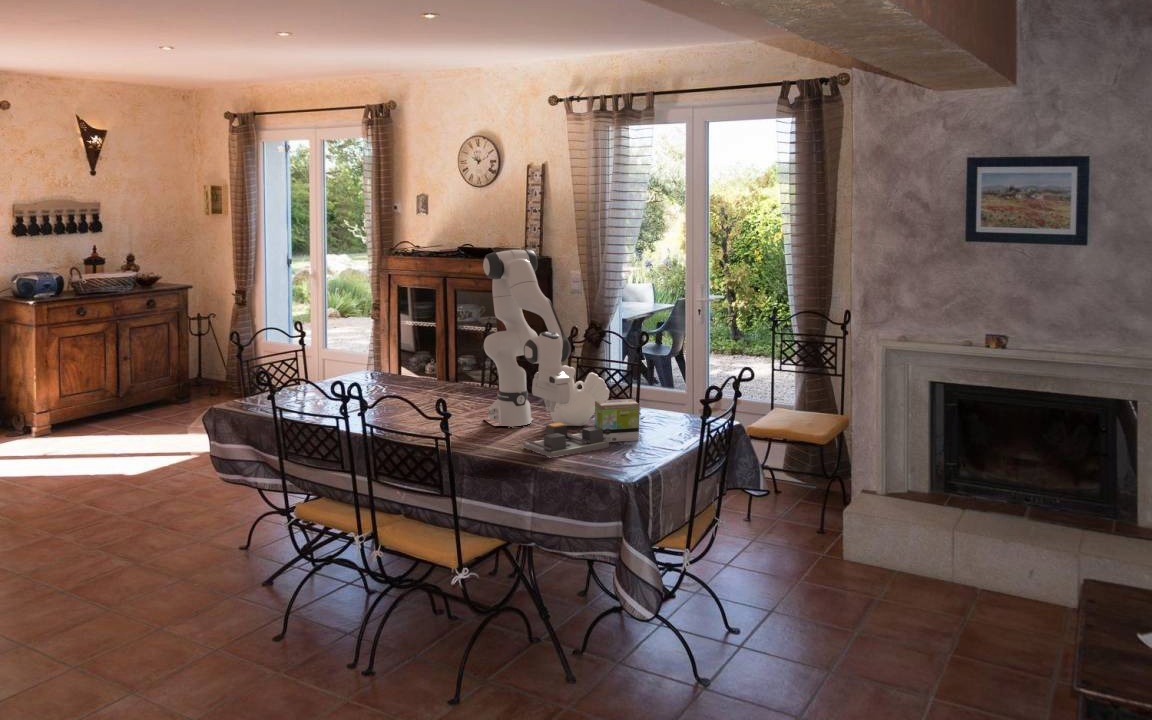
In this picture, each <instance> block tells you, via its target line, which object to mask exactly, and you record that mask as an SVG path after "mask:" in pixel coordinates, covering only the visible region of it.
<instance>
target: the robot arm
mask: <svg viewBox="0 0 1152 720" xmlns="http://www.w3.org/2000/svg"><path fill="white" fill-rule="evenodd" d="M538 265H539V261H538V257H537V254H536V253H535V251H534V250H531V249H526V248H523V249H509V250H503V251H497V252H491V253H488V254H486V255H485V256H484V258H483V263H482V266H483V272H484V274H485V276H486V277H487V278H488V279H491V280H492V287H491V288H492V291H491V292H492V300H493V301H492V302H493V309H494V315H495V318H496V319H497V320H499V321H500V322H502V323H503V325H504V326H505V329H506V330H502V331H501V330H500V331H496V332H494V333H491V334H488V335H487V336H486V337H485V338H484V342H483V350H484V352H485V354H486V356H488V358H490V359H491V360H492V361H493V363H494V364H495V366H496V367H495V368H496V369H497V373H498V389H499V390H497V391H496V394H497V396H496V397H497V398H496V400H495V401H494V402H493V403H492V404H491V405H489V407H488V410H487V411H488V412H487V413H488V417H489V418H490V419H492V420H493V421H495V422H497V423H499V425H510V426H511V425H512V426H521V425H527V424H530V423H531V424H532V422H531V421H532V420H534V418H533V417H532V409H531V404H530V401H529V400H528V399H529V398H528V396H529V392H528V389H527V372H526V370H525V368H523V367H522V366H520V365H519V364H518V362H517V357H520V356H523V357H524V359H526V360H527V362H529V363H530V364H538V371H536V372H535V374H534V375H533V377H534V378H533V379H532V386H531V387H532V388H531V393H532V395H533V396H534V397H538V398H540V399H543V401H544V405H545V407H546V408H545V410H546V412H549V413H550V412H554V407H555V405H556V403H559V404H566V403H568V402H569V400H570V387H569V384H568V383H569V382H570V377H569V376H567V375H566V374H565V373H564V372H563V371H562V366H563V365H562V363H563V362H566V360H567V359H568V358H569V357H570V355H571V352H572V346H571V343H570V341H569V339H568V338H567V336H566V334H565V332H564V330H563V327H562V325H561V322H560V319H559V318H558V315H557V313H556V310H555V308H554V306H553V303H552V301H551V300H550V298H548V297H546V296H545V294H544V293H543V292H542V290H541V288H540V286H539V281H538V278H537V275H536V271H537V270H538ZM523 310H525V311H528V312H531V313H533V314H536V315H538V316H539V317H541V318H542V320H543V321H544V323H545V326H546V328H547V331H543V332H540V333H539V335H538V333H537V332H536V331H535V330H534V329H533V328H531V327H530V325H529V324H528V322H527V321H526V318H525V316H524V315H525V314H524V313H523ZM550 403H551V404H550ZM531 424H530V425H531Z"/></svg>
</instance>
